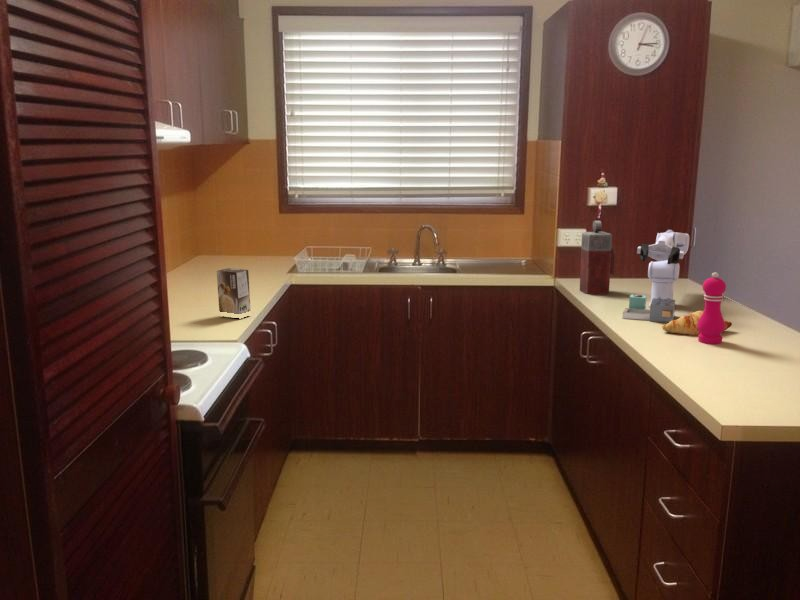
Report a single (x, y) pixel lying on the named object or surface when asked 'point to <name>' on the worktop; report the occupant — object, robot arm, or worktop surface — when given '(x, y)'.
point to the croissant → (688, 324)
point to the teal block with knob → (637, 302)
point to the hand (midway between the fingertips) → (656, 259)
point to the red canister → (596, 261)
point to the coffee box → (233, 291)
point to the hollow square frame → (653, 311)
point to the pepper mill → (712, 311)
